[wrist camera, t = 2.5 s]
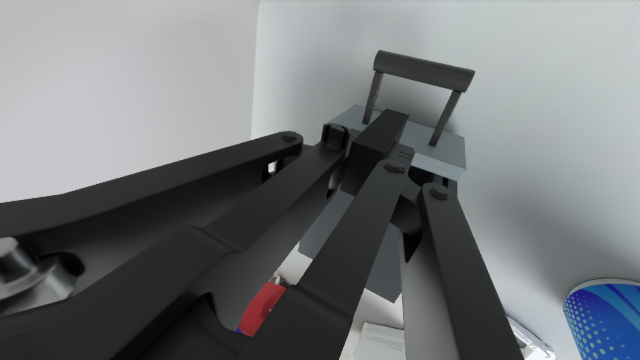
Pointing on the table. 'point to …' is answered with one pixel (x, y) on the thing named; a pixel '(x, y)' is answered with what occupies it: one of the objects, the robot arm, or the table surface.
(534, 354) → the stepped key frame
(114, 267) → the robot arm
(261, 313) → the alarm clock
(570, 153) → the table surface
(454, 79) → the sliding drawer
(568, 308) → the beer can
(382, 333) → the white product box
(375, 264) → the drawer cabinet
